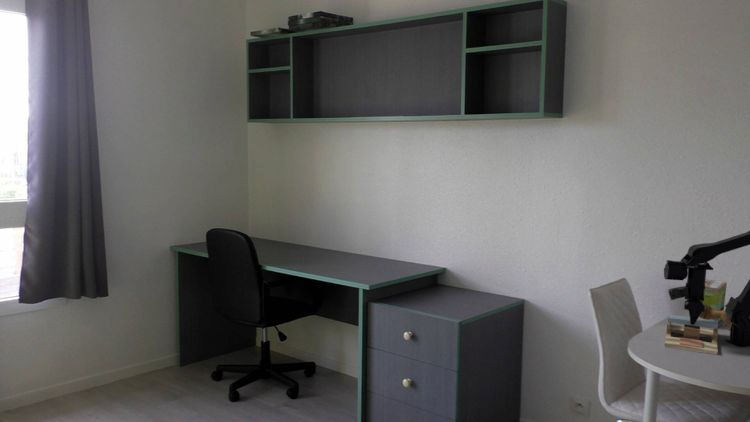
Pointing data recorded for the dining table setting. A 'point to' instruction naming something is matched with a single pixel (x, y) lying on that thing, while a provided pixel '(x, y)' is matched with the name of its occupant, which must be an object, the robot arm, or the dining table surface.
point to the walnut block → (691, 332)
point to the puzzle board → (691, 340)
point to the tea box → (714, 295)
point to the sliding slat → (699, 323)
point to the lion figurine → (715, 316)
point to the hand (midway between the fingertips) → (692, 324)
